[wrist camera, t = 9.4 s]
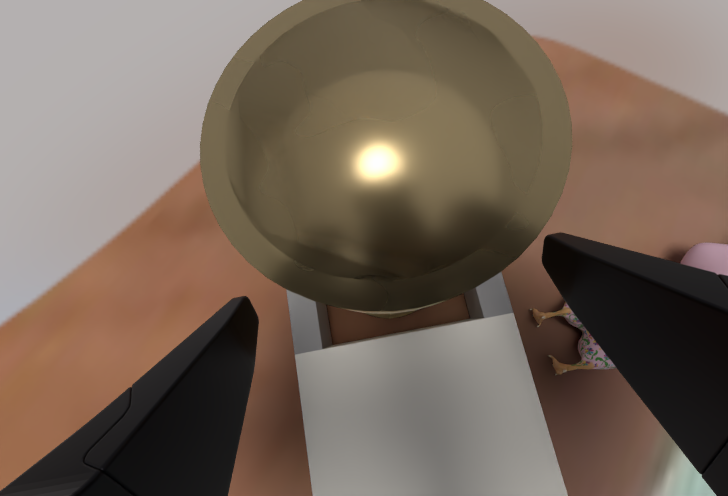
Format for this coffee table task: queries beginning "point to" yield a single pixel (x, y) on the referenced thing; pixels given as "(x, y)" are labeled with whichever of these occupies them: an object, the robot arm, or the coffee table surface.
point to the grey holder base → (424, 406)
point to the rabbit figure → (593, 357)
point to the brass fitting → (385, 150)
